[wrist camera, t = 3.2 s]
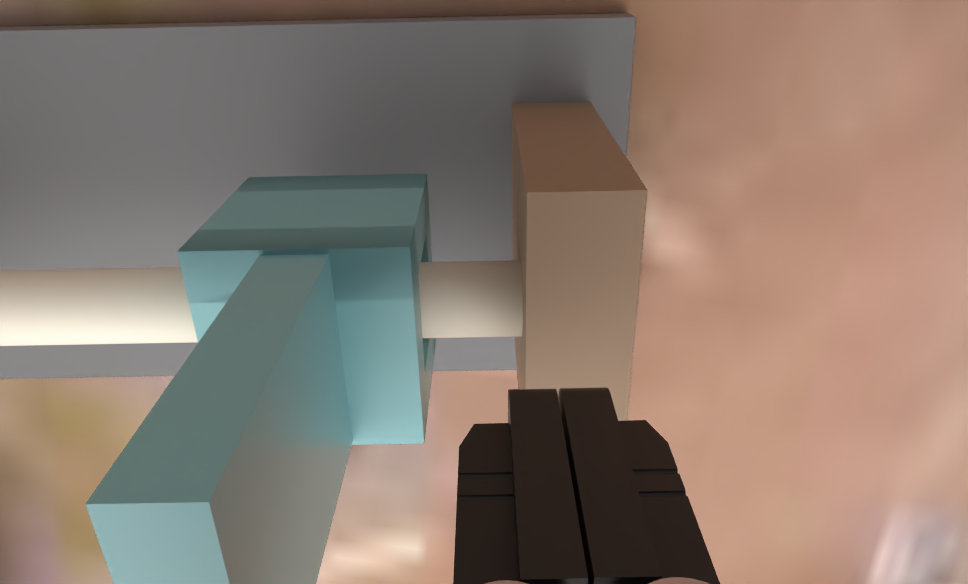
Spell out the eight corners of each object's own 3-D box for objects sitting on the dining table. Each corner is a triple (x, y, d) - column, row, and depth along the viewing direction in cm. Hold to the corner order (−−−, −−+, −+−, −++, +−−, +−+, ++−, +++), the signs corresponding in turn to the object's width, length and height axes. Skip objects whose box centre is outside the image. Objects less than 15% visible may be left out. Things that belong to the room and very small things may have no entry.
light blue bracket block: (427, 173, 16) (352, 492, 7) (436, 336, 18) (388, 756, 9) (248, 177, 16) (-62, 498, 7) (277, 339, 18) (61, 760, 9)
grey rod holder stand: (628, 13, 18) (733, 69, 11) (606, 351, 23) (668, 562, 15) (-386, 35, 18) (-1002, 106, 11) (-209, 365, 23) (-556, 580, 15)
